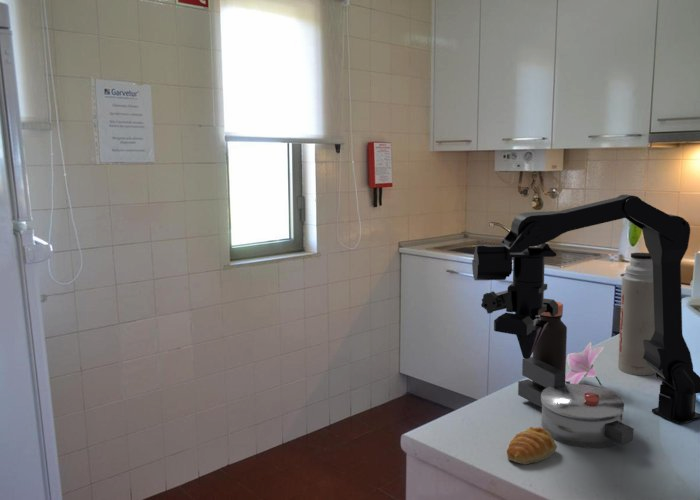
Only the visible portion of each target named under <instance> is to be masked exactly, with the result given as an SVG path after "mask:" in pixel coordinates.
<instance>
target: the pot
mask: <svg viewBox="0 0 700 500" xmlns="http://www.w3.org/2000/svg"><path fill="white" fill-rule="evenodd" d="M517 387H518V388H517V396H519V397H521V398H523V399H525V400H527V401H528V402H531V403H532V404H534V405H536V406H537V407H538V406H539V407H541V428H543V429H545V430H547V431H548V432H549V433H550V434H551V437H552V438H553V439H554V441H555V440H556V441H557V442H560V443H563V444H565V445H570V446H572V447H573V446H574V447H579V448H586V449H588V448H589V449H599V448H607V447H611V446H614V445H617V444H618V445H619V446H620V445H621V446H623V445H626V444H631V443H632V442H634V433H635V432H634V430H635V428H634V427H631V426H629V425H628V424H625V423H623V413H622V414H621V415H620V416H618V417H616V418H613V419H608V420H599V421H590V420H579V419H574V418H569V417H565V416H562V415H559V414H557V413H554V412H552V411H550V410H549V409H547V408H546V407H545V406H544V405H543V404H542V402H541V393H542V391H543V390H544V389H546V388H545V387H543V386H541V385H539V384H537V383H535V382H533V381H532V380H530V379H529V378H527V379H524V380H520V381H519V380H518V385H517Z"/></svg>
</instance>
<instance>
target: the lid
mask: <svg viewBox="0 0 700 500" xmlns="http://www.w3.org/2000/svg"><path fill="white" fill-rule="evenodd" d="M521 365H522V369H521V370H522V372H521V375H522V376H523V377H525V378H527V379H529V380H531V381H534V382H536V383H538V384H540V385H542V386H544V387H545V388H546V389H544V390H543V391H542V393H541V402H542V404H543V405H544V406H545V407H546V408H547V409H549V410H550V411H552V412H554V413H557V414H559V415H562V416H565V417H569V418H574V419H579V420H590V421H599V420H608V419H613V418H616V417H618V416H620V415H621V414H622V415H623V413H624V411H625V403H624V400H623V398H622V397H620V396H619V395H618V394H616V393H615V392H612V391H610V390H607V389H605V388H603V387H598V386H594V385H590V384H583V383H582V384H581V383H580V384H579V383H578V384H570V383H566V381H565V377H566V374H565V372H563V371H561V370H559V369H557V368H555V367H553V366H551V365H549V364H546V363H544V362H542V361H540V360H538V359H536V358H534V357H533V356H531V357H530V358H529V359H526V358H522V364H521Z"/></svg>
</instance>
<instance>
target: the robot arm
mask: <svg viewBox="0 0 700 500" xmlns="http://www.w3.org/2000/svg"><path fill="white" fill-rule="evenodd" d="M621 219H626V220H627V221H628V222H630V223H631V224H632V225H634V226H635V227H637V228H639V230H641V231H642V235H643V239H644V244H645V247H646V250H647V253H649V254H650V256H651V259H652V262H653V291H654V324H655V331H654V334H653V336H652V338H651V340H644V341H643V344H644V349H645V352H644V356H643V359H644V360H646V361H647V364H648V366H649V367H650V368H651V369H652V370H653V371H654V372H655V373H654V375H655V378H656V379H659V380H661V381H662V382H661V384H659V393H658V404H657V407H654V408H651V413H654V414H656V415H658V416H660V417H663V418H665V419H668V420H669V421H672V422H674V423H677V424H680V425H681V424H685V423H689V422H693V421H695V420H696V421H697V420H698V419H700V413H699V412H696V400H697V394H700V376H699V374H698V373H696V371H695V370H694V365H693V359H692V353H691V351H690V349H689V347H688V345H687V342H686V340H685V338H684V335H683V308H682V307H683V306H682V303H683V302H682V301H683V299H682V265H681V264H682V260H683V259H684V256H685V254H686V252H687V251H688V248H689V244H690V243H689V242H690V237H691V225H690V223H689V221H687V220H686V219H685V218H684V217H682V216H679V215H674V214H669V213H666V212H664V211H662V210H661V209H658V208H657V207H655V206H653V205H651V204H649V203H647V202H645V201H644V200H643V199H642V198H640V197H639V196H637V195H632V194H620V195H618V196H615V197H613V198H608V199H604V200H601V201H596V202H592V203H588V204H587V203H586V204H583V205H579V206H578V205H577V206H575V207H570V208H566V209H562V210H558V211H557V210H555V211H530V212H527V211H526V212H522V213H519V214H517V215H516V216H515V217H514V219H513V220H512V221H511V225H510V226H511V227H510V230H509V231H508V233H507V234H506V236H505V237H504V238H503V239H502V241H501V242H500V243H499V244H497V245H495V244H494V245H488V244H487V245H486V244H476V245H475V248H474V249H475V250H474V252H473V259H472V260H471V261H472V262H471V263H472V264H471V266H472V267H471V268H472V275H473V280H474V281H506V279H507V278H509V277H510V275H512V283H511V284H509V285H508V287H507V290H504V291H499V292H495V291H493V290H492V291H491V292H486V293H483V296H482V299H481V308H483V309H484V310H486V313H487V314H493V313H494V312H497V311H501V310H505V309H506V310H505V311H506V312H504V313H502V314H501V315H499V316H497V317H496V318H495V319H494V321H493V331H494V332H498V333H503V334H509V335H513V336H514V335H515V336H516V338H517V342H518V344H519V349H520V351H521V356H522V359H524V358H526V359H529V358H530V357H532V355H533V350H534V348H535V346H536V344H537V342H538V341H539V339H540V337H541V335H542V333H543V331H544V329H545V327H546V325H547V324H548V321H543V320H541V317H540V316H539V315H540V314H542V313H543V312H550V315H551V316H555V315H556V314H558V304H557V303H556V302H557V301H556V300H555V299H551V298H545V297H544V295H545V291H546V290H548V283H545V258H551V257H552V258H553V257H554V258H555V257H556V256H558V255H557V253H556V252H555V251H554V250H553V249H552V248H551V247H550V245H549V244H548V242H551V241H553V240H555V239H557V238H558V237H560V236H562V235H563V234H565V233H567V232H571V231H574V230H575V231H576V230H580V229H585V228H589V227H593V226H596V225H597V226H598V225H601V224H604V223H610V222H614V221H617V220H621ZM555 301H556V302H555Z"/></svg>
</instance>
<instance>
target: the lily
mask: <svg viewBox="0 0 700 500" xmlns="http://www.w3.org/2000/svg"><path fill="white" fill-rule="evenodd" d="M603 350H604V346H599V347H595V348H593V349H592V342H591V341H590V342H588V343H587V345H586V346H585V348H584V350H583V351H582V353H580V352H571V353H568V354H566V362H567V364H568V367H569V368H570V370H569V371H568V372H567V373H566V374H565V382H568V381H570V382H569V384H579V383H580V381H581V380H582V379H583V378H595V379H596V380H597V382H598V384H599V386H601V385H602V383H601V381H600V380H599V377H598V376H597V373H596V370H595V366H594V365H593V363H594V361H595V360H596V359H597V357H598V356H599V355H600V354H601V352H603Z"/></svg>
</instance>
